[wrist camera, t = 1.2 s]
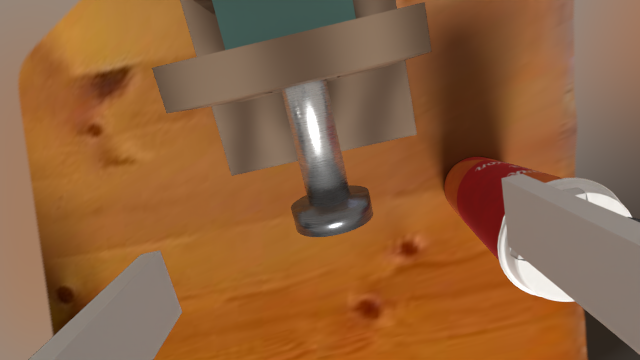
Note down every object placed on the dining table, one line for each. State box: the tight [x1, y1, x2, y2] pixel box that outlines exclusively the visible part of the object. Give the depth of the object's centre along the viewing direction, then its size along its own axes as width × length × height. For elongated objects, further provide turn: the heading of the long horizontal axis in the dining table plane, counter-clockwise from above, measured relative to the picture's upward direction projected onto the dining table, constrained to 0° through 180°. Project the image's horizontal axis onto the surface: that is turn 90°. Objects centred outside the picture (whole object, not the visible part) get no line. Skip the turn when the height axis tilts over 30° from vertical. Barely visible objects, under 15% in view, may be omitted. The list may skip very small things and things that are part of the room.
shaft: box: [281, 79, 373, 237], centre depth 24 cm, size 6×18×6 cm, turn 13°
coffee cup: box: [444, 157, 632, 302], centre depth 29 cm, size 8×8×15 cm
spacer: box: [212, 0, 356, 50], centre depth 23 cm, size 8×4×8 cm, turn 103°
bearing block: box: [152, 0, 431, 176], centre depth 24 cm, size 18×17×18 cm
